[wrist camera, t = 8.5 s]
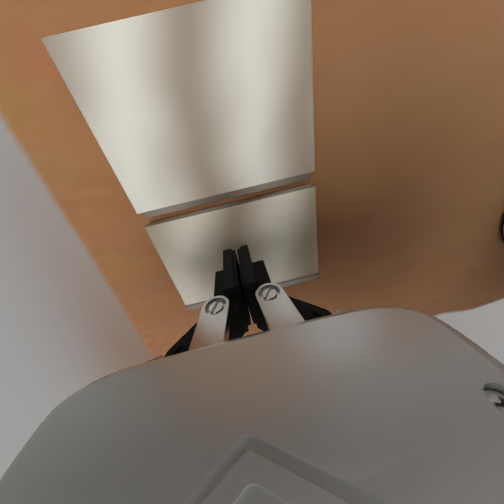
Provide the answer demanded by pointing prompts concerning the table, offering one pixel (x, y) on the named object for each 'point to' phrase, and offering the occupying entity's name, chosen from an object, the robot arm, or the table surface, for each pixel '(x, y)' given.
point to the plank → (240, 241)
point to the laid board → (197, 98)
